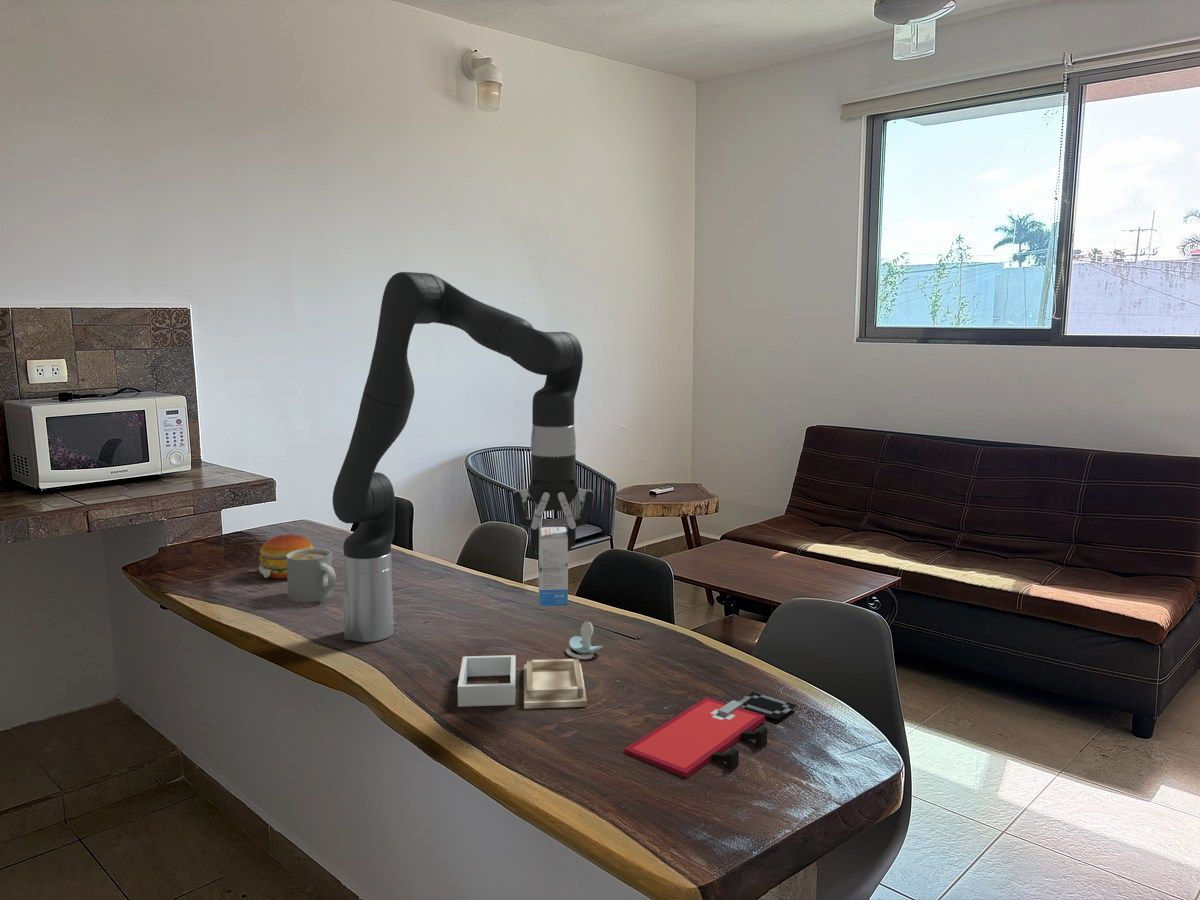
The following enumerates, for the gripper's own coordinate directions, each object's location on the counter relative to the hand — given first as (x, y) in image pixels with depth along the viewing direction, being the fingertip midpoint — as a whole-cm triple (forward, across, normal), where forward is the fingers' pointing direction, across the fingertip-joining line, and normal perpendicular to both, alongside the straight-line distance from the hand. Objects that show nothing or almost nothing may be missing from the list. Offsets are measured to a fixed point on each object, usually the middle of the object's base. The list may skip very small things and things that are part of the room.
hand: (553, 548), depth 148 cm
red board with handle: (+26, +26, -18) cm, 41 cm away
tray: (+25, 0, 0) cm, 25 cm away
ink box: (+9, 0, 0) cm, 9 cm away
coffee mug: (+26, -53, +53) cm, 79 cm away
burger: (+26, -64, +72) cm, 100 cm away
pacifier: (+26, +6, +15) cm, 30 cm away
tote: (+25, -11, 0) cm, 28 cm away
